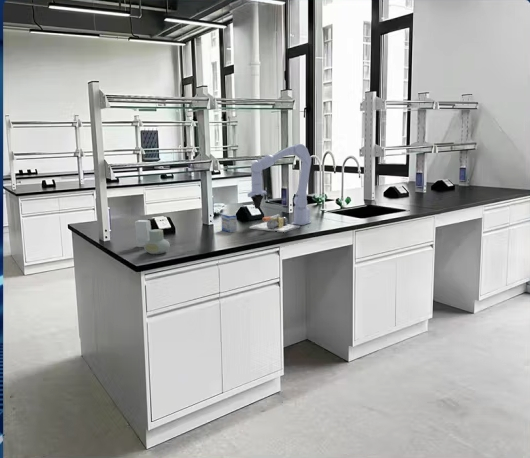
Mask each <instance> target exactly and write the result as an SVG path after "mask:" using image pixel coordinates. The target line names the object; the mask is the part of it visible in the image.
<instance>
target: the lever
mask: <svg viewBox="0 0 530 458" xmlns="http://www.w3.org/2000/svg"><path fill="white" fill-rule="evenodd" d="M276 217H280V218H281V215H280V214H275V215H272V216H271V215H270V216H265V217H262V222H268V221H271V220H272V218H276Z"/></svg>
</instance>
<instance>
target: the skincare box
mask: <svg viewBox="0 0 530 458" xmlns="http://www.w3.org/2000/svg"><path fill="white" fill-rule="evenodd" d="M151 224H152V223H151V220H147V219H138V220H135V221H134V227H135V228H134V229H135V237H136V247H138V248H144V245H145V243H146V242H147V241H149V240H150V238H149V231H150V230H152V225H151Z"/></svg>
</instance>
